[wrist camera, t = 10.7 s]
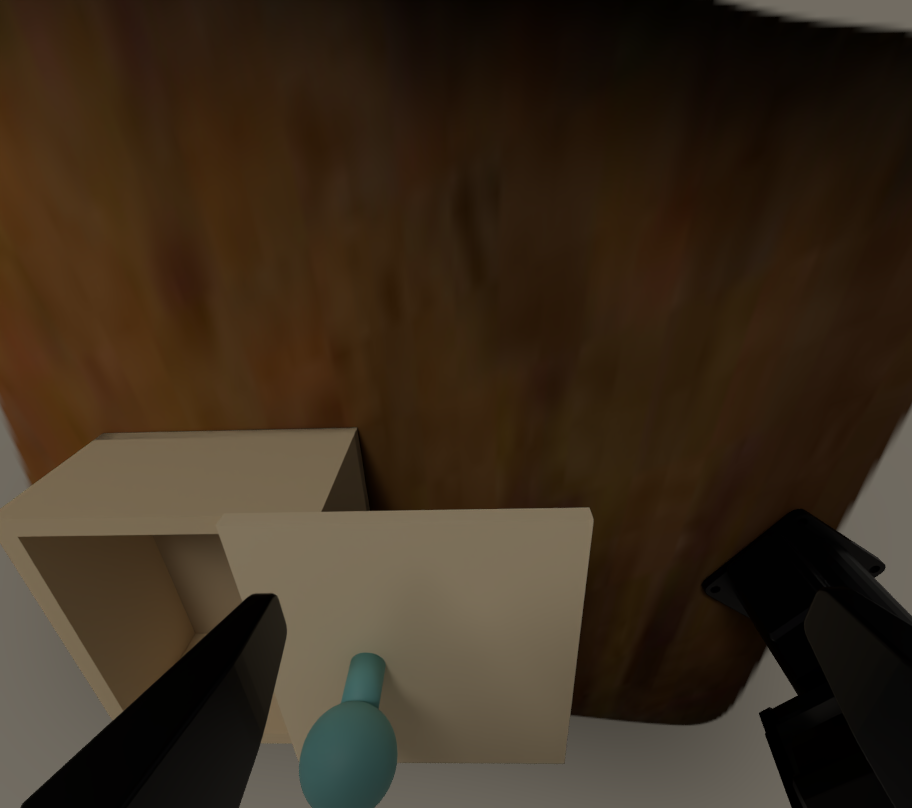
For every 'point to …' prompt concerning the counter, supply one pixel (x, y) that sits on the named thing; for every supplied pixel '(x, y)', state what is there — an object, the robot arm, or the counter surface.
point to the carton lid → (418, 636)
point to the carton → (162, 540)
